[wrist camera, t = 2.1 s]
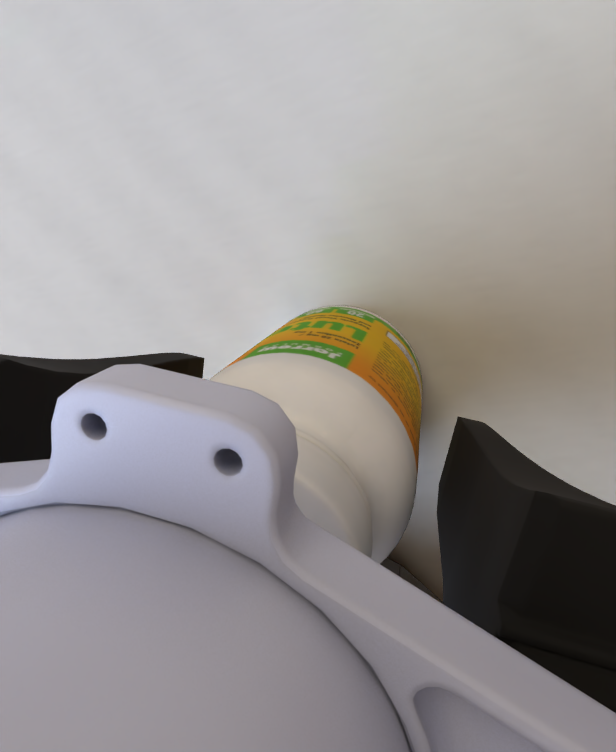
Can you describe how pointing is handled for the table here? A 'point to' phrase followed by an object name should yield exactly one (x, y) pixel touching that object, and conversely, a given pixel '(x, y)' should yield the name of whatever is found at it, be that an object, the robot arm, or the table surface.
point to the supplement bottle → (345, 419)
